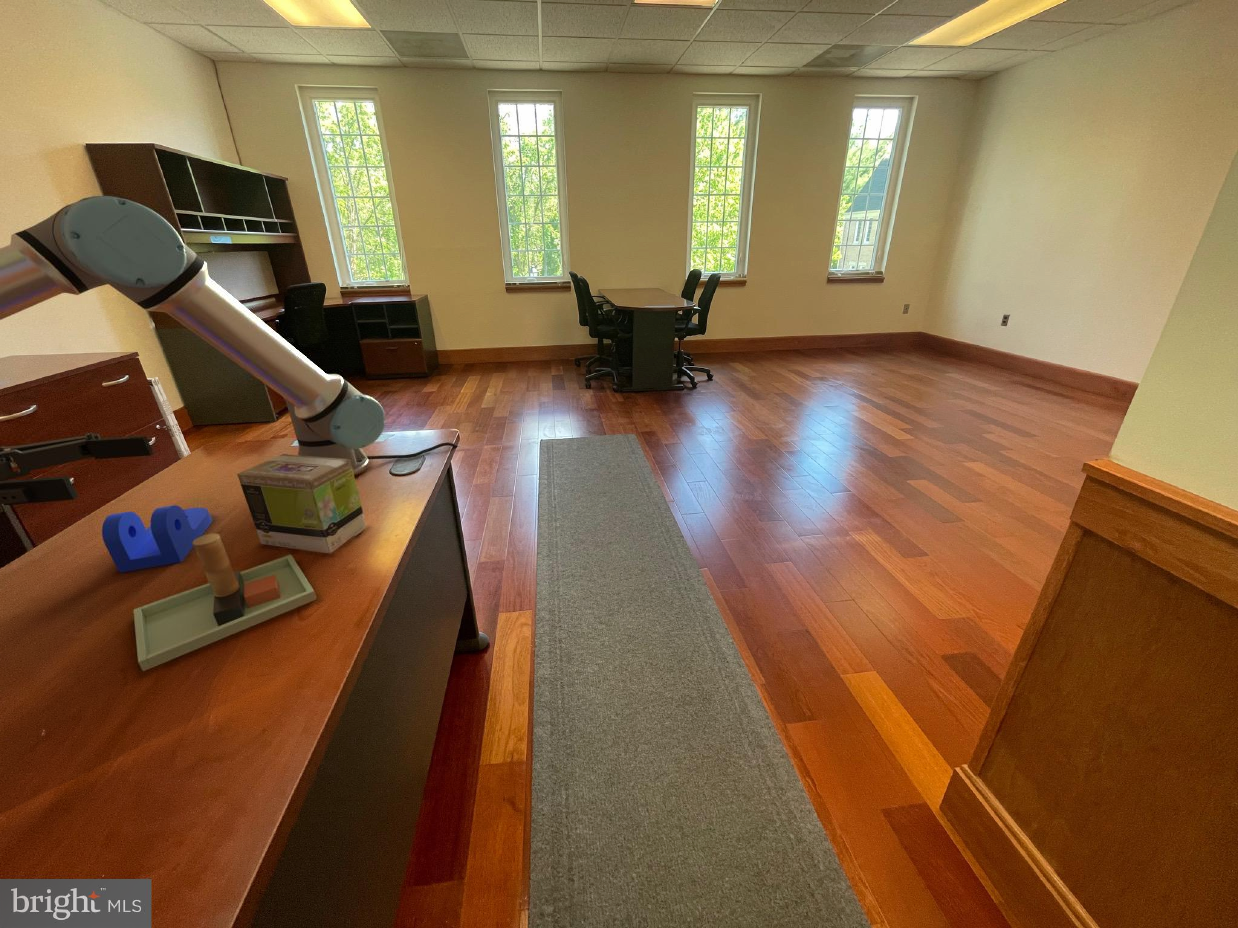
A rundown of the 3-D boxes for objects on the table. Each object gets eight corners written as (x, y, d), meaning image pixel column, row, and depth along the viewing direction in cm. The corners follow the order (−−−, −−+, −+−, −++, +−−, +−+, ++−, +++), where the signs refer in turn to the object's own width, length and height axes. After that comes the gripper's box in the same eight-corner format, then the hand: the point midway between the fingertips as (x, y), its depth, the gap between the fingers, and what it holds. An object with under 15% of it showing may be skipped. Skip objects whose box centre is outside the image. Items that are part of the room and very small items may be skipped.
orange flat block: (278, 584, 76) (275, 574, 75) (280, 597, 73) (276, 587, 72) (247, 594, 73) (243, 583, 73) (248, 608, 71) (244, 597, 70)
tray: (294, 564, 82) (290, 554, 81) (317, 601, 73) (314, 590, 72) (139, 620, 69) (133, 609, 68) (144, 674, 60) (137, 662, 59)
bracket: (181, 562, 82) (161, 516, 78) (119, 572, 79) (95, 526, 75) (218, 513, 97) (202, 474, 94) (167, 521, 94) (149, 480, 91)
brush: (244, 583, 76) (220, 521, 71) (245, 618, 68) (218, 551, 64) (220, 590, 74) (194, 527, 70) (218, 627, 67) (189, 559, 62)
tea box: (368, 527, 93) (352, 458, 87) (330, 556, 84) (308, 481, 78) (303, 519, 95) (282, 451, 90) (259, 546, 86) (233, 472, 81)
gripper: (13, 466, 69) (181, 455, 74) (-217, 567, 47) (44, 541, 52) (-15, 418, 66) (163, 408, 71) (-274, 500, 44) (9, 479, 48)
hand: (113, 464), depth 61 cm, fingers open, 13 cm apart
